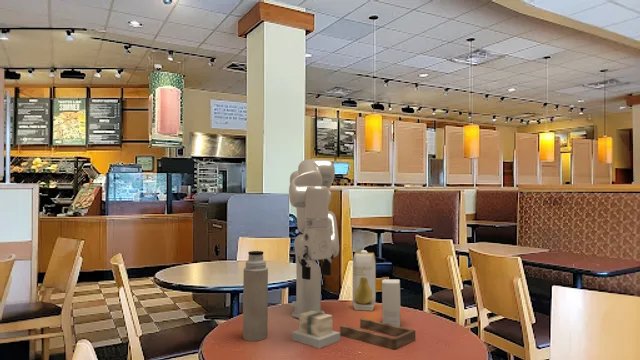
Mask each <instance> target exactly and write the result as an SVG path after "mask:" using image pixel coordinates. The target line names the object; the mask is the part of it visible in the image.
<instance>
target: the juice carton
mask: <svg viewBox="0 0 640 360" xmlns="http://www.w3.org/2000/svg"><path fill="white" fill-rule="evenodd" d="M376 260H377V259H376V256H375V253H374V252H368V251H367V250H366V249H365V250H364V249H362V250H360V251H359V252H355V253H354V254H353V259H352V304H353V308H354V310H355V311H371V312H372V311H373V310H374V309H375V305H376V298H377V296H376V292H377V291H376V290H377V288H376V286H377V285H376V284H377V283H376V280H377V278H376V276H377V274H376V273H377V272H376V271H377V268H376V267H377V266H376V265H377V262H376Z"/></svg>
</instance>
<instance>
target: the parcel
mask: <svg viewBox="0 0 640 360" xmlns="http://www.w3.org/2000/svg"><path fill="white" fill-rule="evenodd" d="M298 321H299V322H298V330H299V331H300V332H303V333H307V334H310V335H314V336H317V337H322V336H325V335H328V334H330V333H332V331H333V315H332V314H328V313H325V314H324V313H321V312H315V311H309V312H305V313H302V314H299V318H298Z"/></svg>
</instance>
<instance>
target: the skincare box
mask: <svg viewBox="0 0 640 360" xmlns="http://www.w3.org/2000/svg"><path fill="white" fill-rule="evenodd" d="M381 292H382V293H381V306H382V307H381V309H382V315H381V316H382V323H385V324H389V325H393V326H398V327H401V280H400V279H395V278H394V279H391V278H390V279H389V278H388V279H386V278H385V279H382V280H381Z"/></svg>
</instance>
